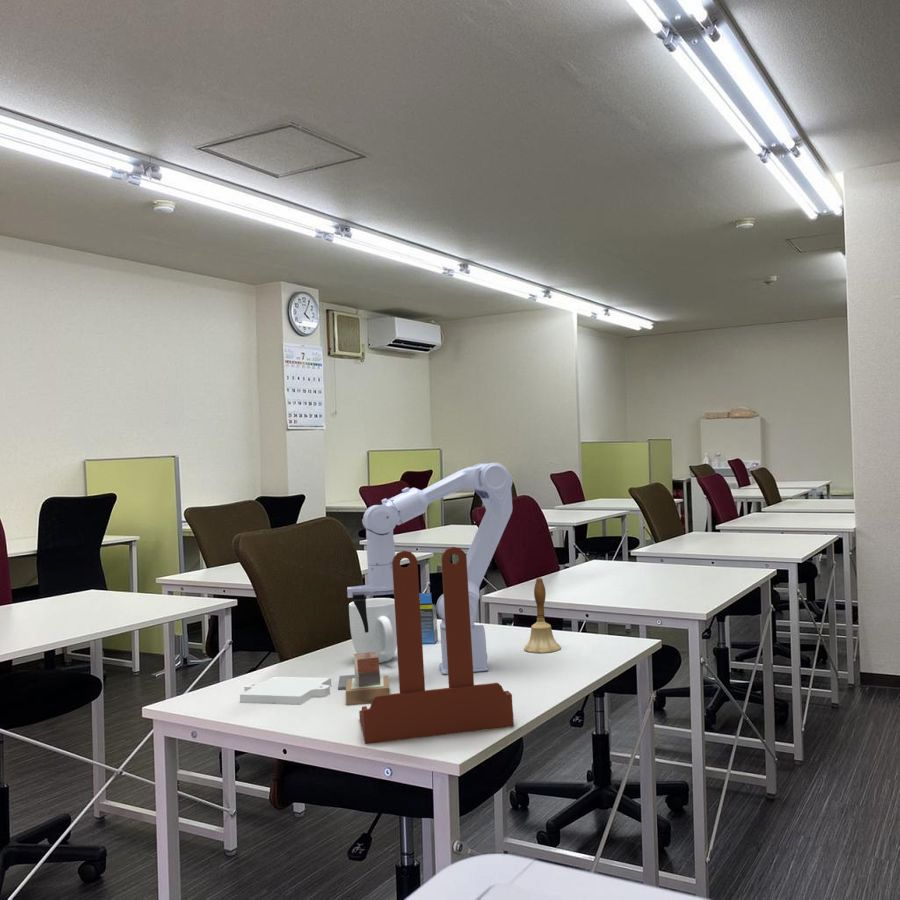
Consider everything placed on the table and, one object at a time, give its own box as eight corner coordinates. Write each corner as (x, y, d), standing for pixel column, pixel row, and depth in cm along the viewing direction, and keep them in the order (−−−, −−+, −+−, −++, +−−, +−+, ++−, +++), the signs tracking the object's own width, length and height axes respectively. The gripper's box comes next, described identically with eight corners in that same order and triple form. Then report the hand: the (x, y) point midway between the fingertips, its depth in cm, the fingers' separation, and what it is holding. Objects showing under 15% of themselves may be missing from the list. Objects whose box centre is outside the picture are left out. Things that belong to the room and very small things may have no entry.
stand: (389, 688, 166) (388, 674, 166) (389, 701, 157) (389, 686, 157) (347, 691, 165) (347, 677, 165) (346, 705, 156) (345, 690, 156)
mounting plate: (342, 687, 170) (342, 678, 170) (313, 707, 157) (312, 696, 157) (263, 685, 175) (263, 676, 175) (228, 704, 163) (228, 694, 163)
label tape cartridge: (438, 640, 207) (435, 590, 207) (434, 644, 203) (431, 592, 203) (403, 641, 209) (400, 590, 209) (399, 644, 205) (396, 593, 205)
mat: (378, 675, 176) (378, 672, 176) (378, 686, 167) (378, 684, 167) (339, 678, 176) (339, 675, 176) (338, 689, 167) (337, 687, 167)
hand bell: (537, 643, 197) (533, 575, 197) (568, 647, 192) (563, 576, 192) (516, 651, 191) (512, 580, 191) (547, 655, 185) (542, 582, 185)
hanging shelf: (495, 705, 151) (485, 537, 151) (513, 727, 138) (502, 543, 138) (359, 720, 147) (349, 547, 147) (365, 744, 134) (354, 555, 134)
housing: (375, 676, 164) (374, 651, 164) (380, 684, 159) (378, 657, 159) (355, 679, 163) (353, 653, 164) (359, 687, 158) (357, 660, 158)
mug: (415, 664, 184) (412, 604, 184) (368, 672, 179) (364, 611, 179) (389, 652, 197) (386, 596, 197) (345, 659, 192) (341, 602, 192)
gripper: (416, 559, 178) (419, 623, 178) (346, 563, 177) (350, 629, 177) (417, 562, 171) (421, 630, 171) (345, 568, 170) (349, 635, 170)
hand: (385, 630), depth 173 cm, fingers open, 7 cm apart
